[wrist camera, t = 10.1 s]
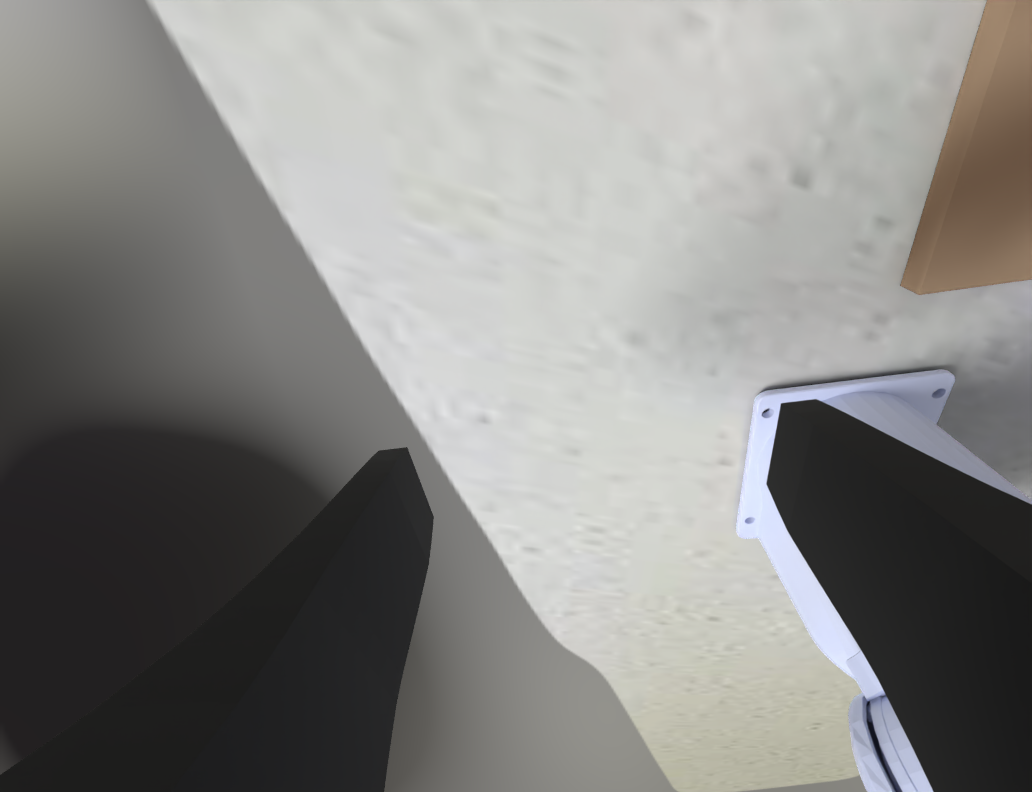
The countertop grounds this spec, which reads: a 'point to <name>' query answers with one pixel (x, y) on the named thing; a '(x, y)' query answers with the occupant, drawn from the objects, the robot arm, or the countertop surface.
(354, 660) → the robot arm
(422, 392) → the countertop surface
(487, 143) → the countertop surface
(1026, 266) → the walnut board
